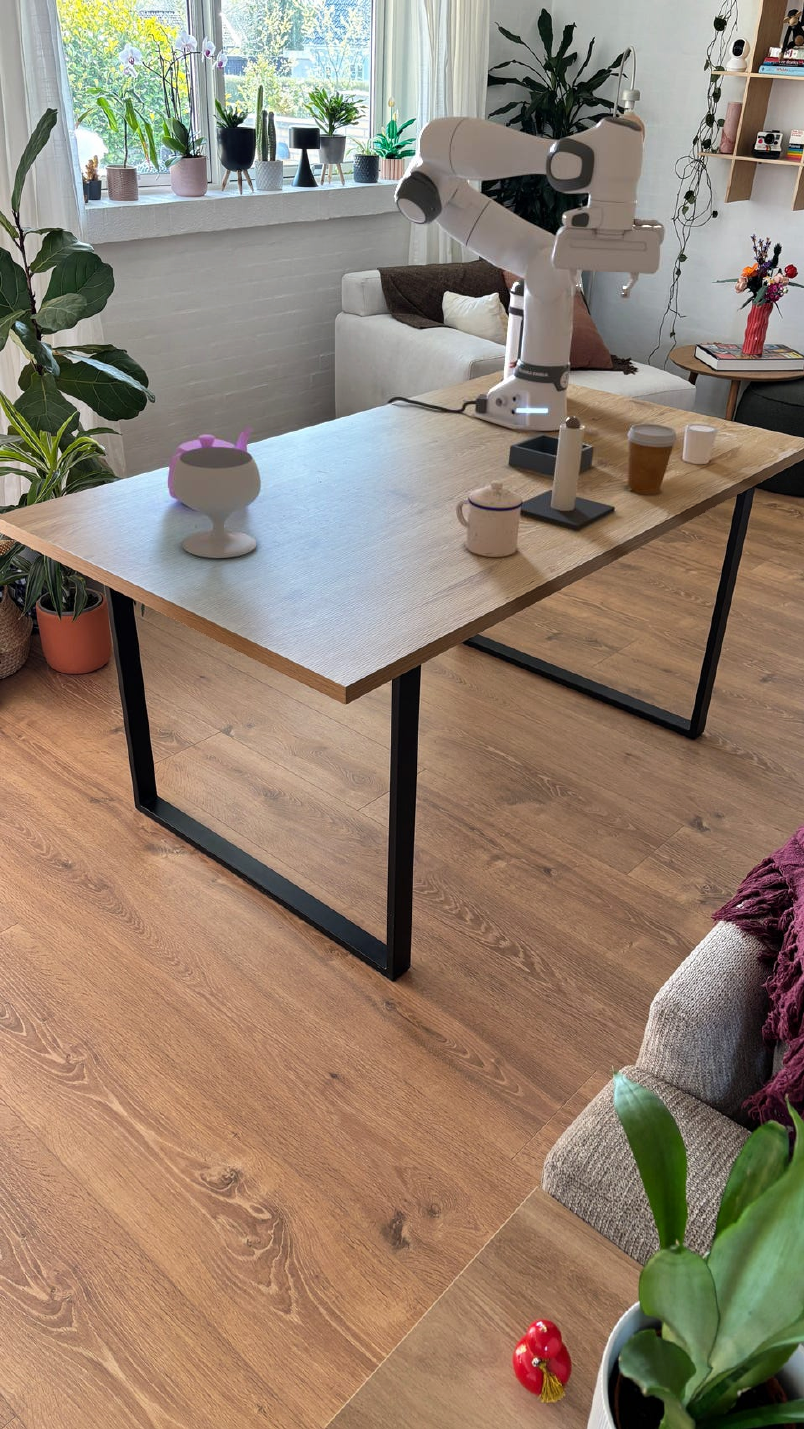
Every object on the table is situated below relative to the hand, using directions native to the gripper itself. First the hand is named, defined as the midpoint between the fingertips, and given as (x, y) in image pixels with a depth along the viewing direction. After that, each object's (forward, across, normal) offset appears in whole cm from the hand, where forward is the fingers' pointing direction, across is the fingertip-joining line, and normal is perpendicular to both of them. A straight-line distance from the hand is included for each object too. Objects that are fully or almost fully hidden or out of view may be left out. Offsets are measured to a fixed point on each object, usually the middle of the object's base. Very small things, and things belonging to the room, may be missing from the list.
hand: (600, 296), depth 208 cm
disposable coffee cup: (+34, -12, +11) cm, 38 cm away
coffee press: (+34, +8, -67) cm, 76 cm away
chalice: (+34, +65, +53) cm, 91 cm away
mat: (+34, +6, +27) cm, 44 cm away
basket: (+34, +6, -1) cm, 35 cm away
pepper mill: (+33, +6, +27) cm, 43 cm away
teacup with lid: (+34, +21, +46) cm, 61 cm away
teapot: (+34, +70, +30) cm, 84 cm away
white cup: (+34, -27, -12) cm, 45 cm away
